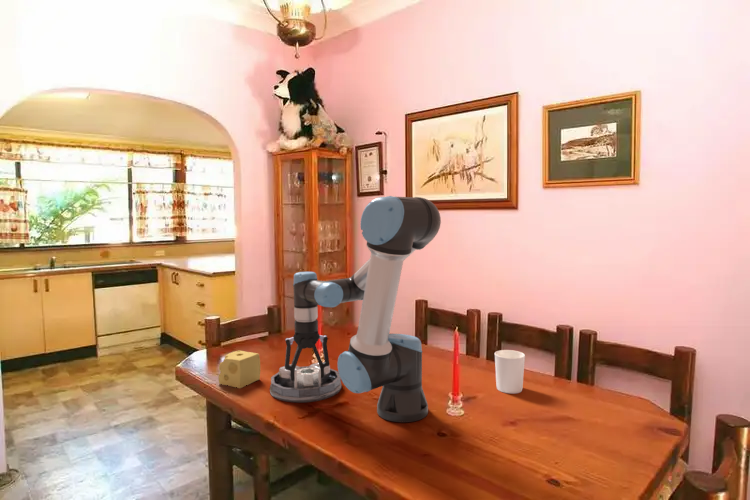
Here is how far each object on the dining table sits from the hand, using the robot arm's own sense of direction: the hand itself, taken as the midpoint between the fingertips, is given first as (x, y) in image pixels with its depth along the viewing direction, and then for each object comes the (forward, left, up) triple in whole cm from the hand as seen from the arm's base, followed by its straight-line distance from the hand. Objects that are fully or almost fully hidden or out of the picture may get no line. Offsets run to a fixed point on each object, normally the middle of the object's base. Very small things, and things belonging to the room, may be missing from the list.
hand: (307, 388), depth 153 cm
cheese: (+19, +22, -3) cm, 29 cm away
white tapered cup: (-13, -66, -2) cm, 67 cm away
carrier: (+6, 0, -2) cm, 6 cm away
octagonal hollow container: (0, 0, 0) cm, 0 cm away
